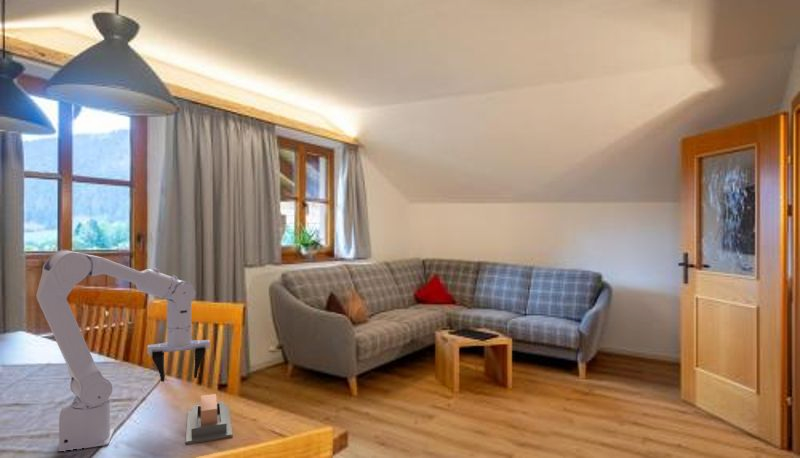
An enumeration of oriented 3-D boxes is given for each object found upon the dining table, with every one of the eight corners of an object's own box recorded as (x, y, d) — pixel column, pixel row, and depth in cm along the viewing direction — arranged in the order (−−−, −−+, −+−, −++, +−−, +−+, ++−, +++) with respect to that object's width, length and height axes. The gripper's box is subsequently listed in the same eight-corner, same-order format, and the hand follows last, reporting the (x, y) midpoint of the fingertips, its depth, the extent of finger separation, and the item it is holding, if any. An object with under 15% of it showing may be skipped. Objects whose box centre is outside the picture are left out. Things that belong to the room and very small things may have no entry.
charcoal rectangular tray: (185, 444, 107) (185, 433, 107) (187, 413, 123) (187, 403, 123) (232, 436, 111) (232, 425, 111) (228, 407, 127) (228, 398, 127)
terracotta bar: (200, 431, 112) (200, 411, 112) (201, 415, 121) (201, 395, 121) (217, 429, 113) (217, 408, 113) (216, 412, 122) (216, 393, 122)
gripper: (145, 332, 115) (146, 387, 116) (209, 327, 121) (209, 380, 121) (148, 326, 122) (149, 378, 122) (209, 321, 128) (209, 371, 128)
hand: (179, 378), depth 122 cm, fingers open, 7 cm apart
